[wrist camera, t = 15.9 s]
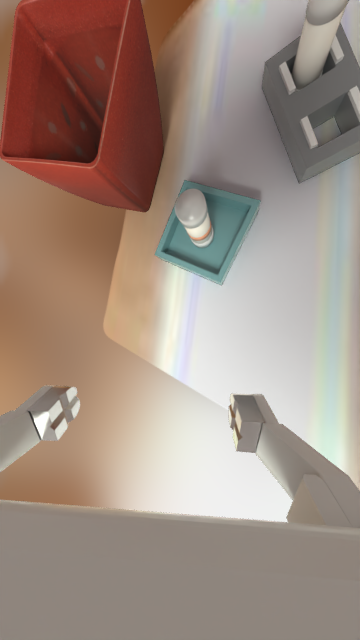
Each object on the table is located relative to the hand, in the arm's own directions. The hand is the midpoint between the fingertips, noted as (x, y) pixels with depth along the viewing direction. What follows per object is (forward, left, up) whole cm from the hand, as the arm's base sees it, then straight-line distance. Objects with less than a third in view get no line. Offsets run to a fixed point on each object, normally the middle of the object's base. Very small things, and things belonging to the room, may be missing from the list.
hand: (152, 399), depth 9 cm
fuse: (+5, -42, -25) cm, 49 cm away
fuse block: (+2, -39, -25) cm, 46 cm away
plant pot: (+31, -22, -26) cm, 46 cm away
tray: (+10, -16, -25) cm, 32 cm away
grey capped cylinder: (+10, -16, -25) cm, 31 cm away
